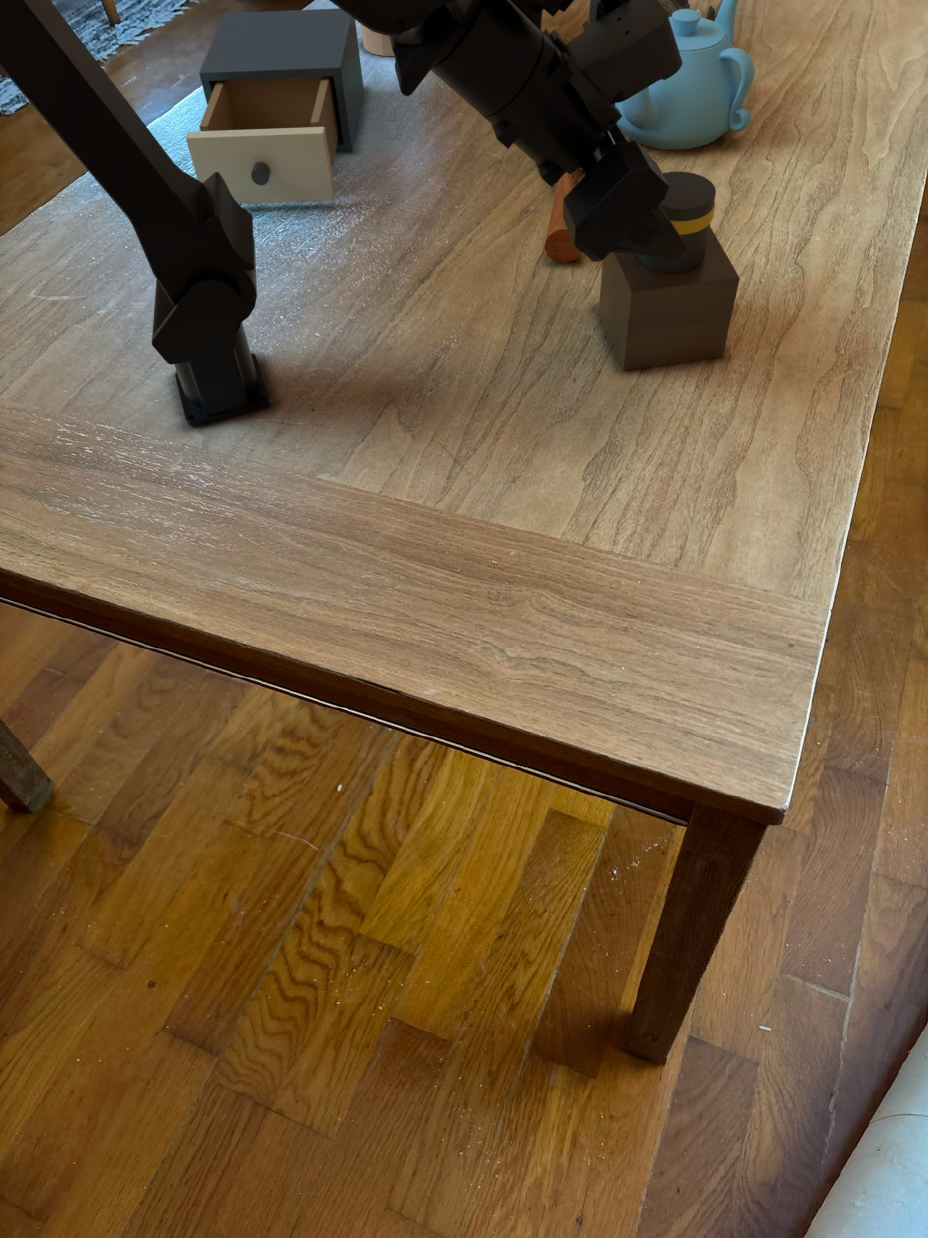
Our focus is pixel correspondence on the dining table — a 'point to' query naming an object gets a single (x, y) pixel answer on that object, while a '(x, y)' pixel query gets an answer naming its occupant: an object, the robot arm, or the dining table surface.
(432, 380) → the dining table surface
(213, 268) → the robot arm
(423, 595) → the dining table surface
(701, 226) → the canister
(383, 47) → the pepper shaker
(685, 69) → the teapot
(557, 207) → the purple maraca
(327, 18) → the cabinet
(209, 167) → the drawer
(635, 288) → the block stand
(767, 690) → the dining table surface
